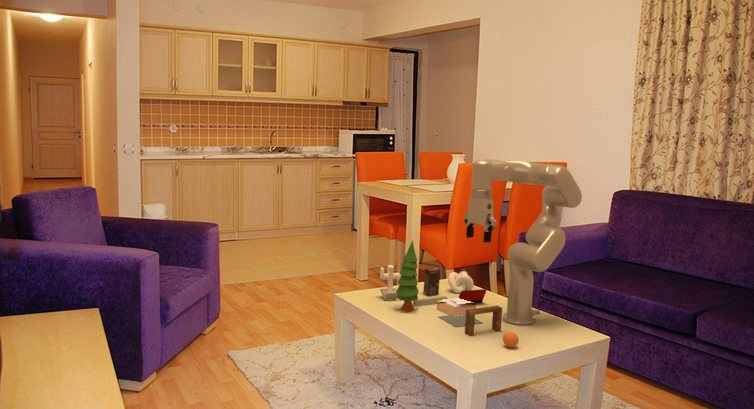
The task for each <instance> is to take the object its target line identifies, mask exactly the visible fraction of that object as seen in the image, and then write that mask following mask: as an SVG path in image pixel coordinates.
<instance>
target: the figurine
mask: <svg viewBox="0 0 754 409" xmlns="http://www.w3.org/2000/svg"><path fill="white" fill-rule="evenodd" d="M394 270H395V266H394V265H392V264H388V265H387V269H386V272H387V273H385V268H384V267H383V266H382V267H381V266H380V268H379V278H380V280H382V281H383V280H384V281H386V288H379V291H380V293H381V295H382V298H383V299H384V300H385V301H396V300H397V299H398V298H397V295H398V293H396V291H397V289H398V288H395V287H394V280H396V285H397V286H399V285H400V284H398V281H399V279H400V277H401V274H400V272H394Z"/></svg>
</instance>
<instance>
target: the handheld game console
mask: <svg viewBox="0 0 754 409" xmlns="http://www.w3.org/2000/svg"><path fill="white" fill-rule="evenodd" d="M486 293H487V289H486V288H484V289H482V288H481V289H472V290H467V291H461V292H460V293H459V295H458V297H459V298H460V299H464V300H467V301H471V302H474V304H483V302H484V298H485V296H486Z"/></svg>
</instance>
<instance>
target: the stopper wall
mask: <svg viewBox="0 0 754 409" xmlns="http://www.w3.org/2000/svg"><path fill="white" fill-rule="evenodd" d="M442 299H447V300H448V297H447V296H446V295H441V296H439V295H438V296H434V297H432V296H430V297H425V298H424V297H423V298H418V300H415V301H412V304H413V307H414V308H415V307H423V306H424V307H425V306H430V305H437V304H436V303H437V301H438V300H442Z"/></svg>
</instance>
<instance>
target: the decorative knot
mask: <svg viewBox="0 0 754 409" xmlns="http://www.w3.org/2000/svg"><path fill="white" fill-rule="evenodd" d="M447 282H448V285H449V288H450V289H451V291H453V293H455V294H460V292H461V291H467V290H474V289H473V288H474V287H475V286H474V280H473V279H472V277H471V276H470V275H468V272H467V271H465V270H464V271H460V272H459V273H458V272H455V271H453V272H450V273H449V274H448V281H447Z"/></svg>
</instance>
